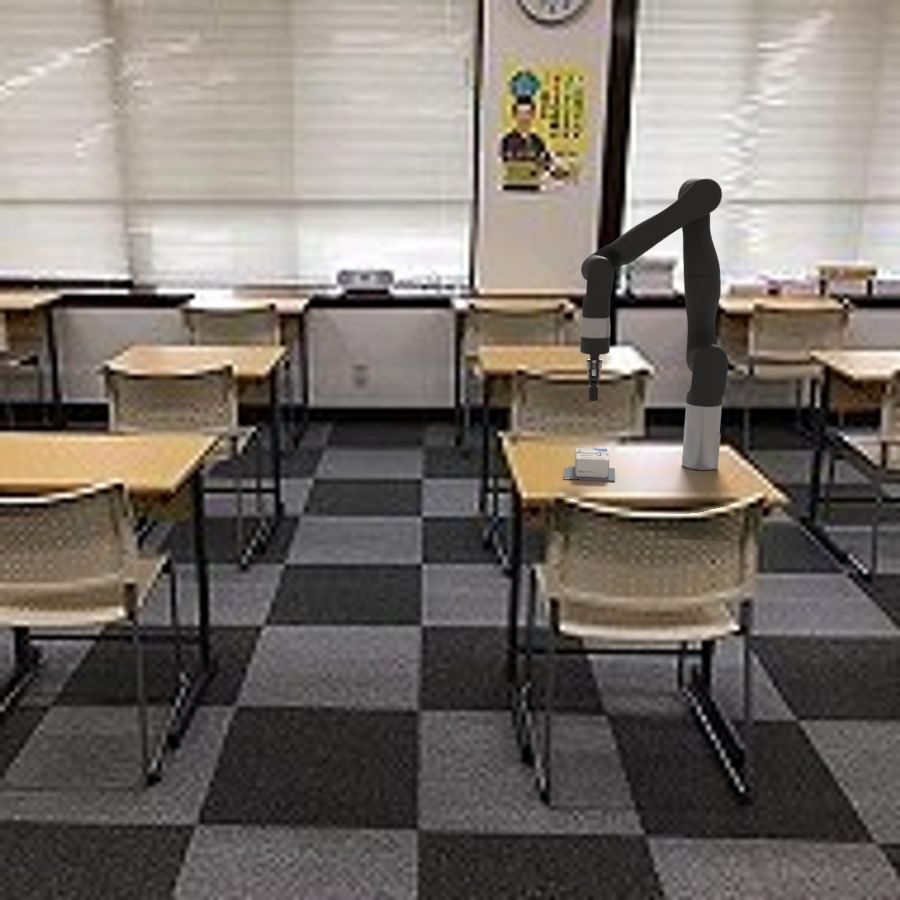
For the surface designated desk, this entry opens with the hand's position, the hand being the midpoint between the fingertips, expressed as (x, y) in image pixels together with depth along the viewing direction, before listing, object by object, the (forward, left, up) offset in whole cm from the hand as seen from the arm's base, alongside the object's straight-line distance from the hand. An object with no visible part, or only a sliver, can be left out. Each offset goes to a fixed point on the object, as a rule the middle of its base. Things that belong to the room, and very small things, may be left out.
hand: (593, 400), depth 273 cm
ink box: (0, -1, -15) cm, 15 cm away
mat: (0, +7, -18) cm, 20 cm away
